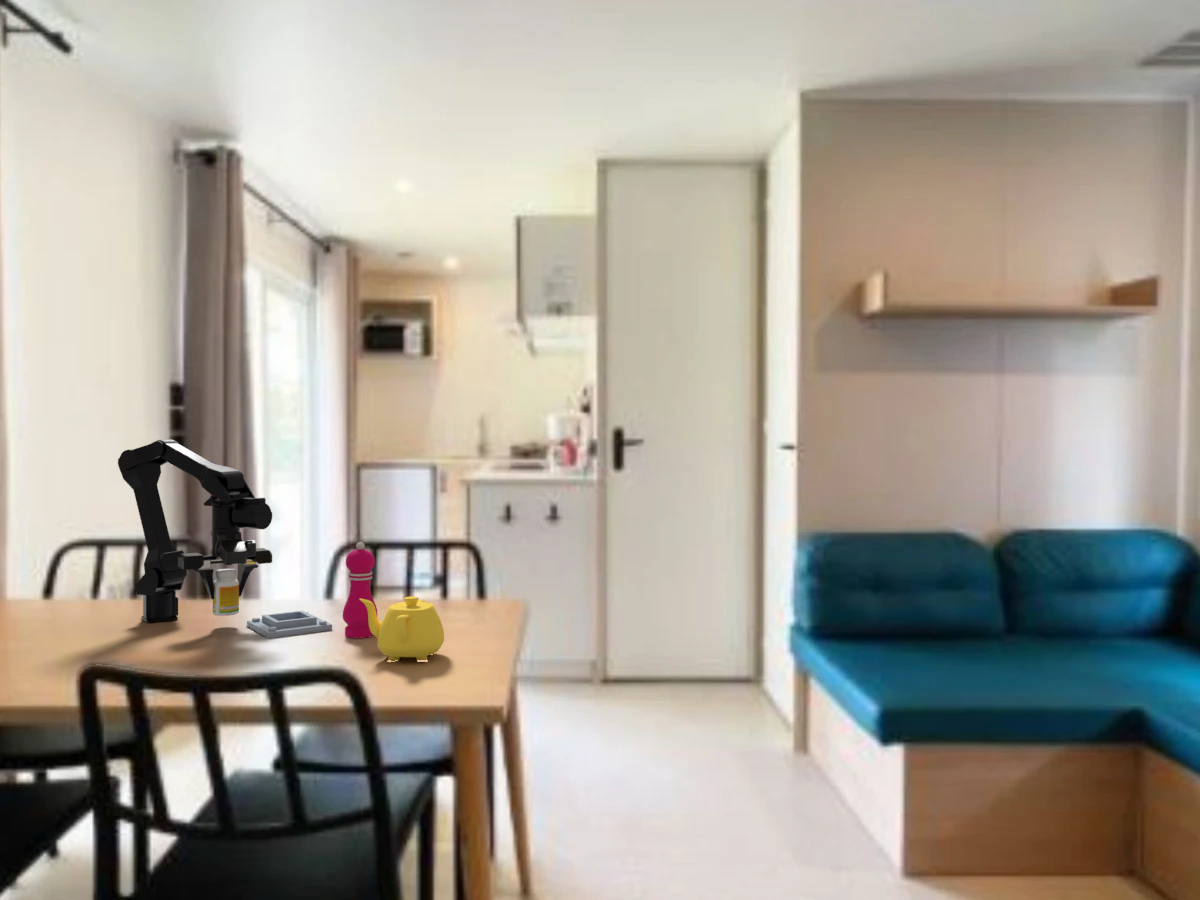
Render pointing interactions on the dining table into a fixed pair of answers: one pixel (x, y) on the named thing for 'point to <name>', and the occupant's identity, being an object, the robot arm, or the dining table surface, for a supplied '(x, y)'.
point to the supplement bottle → (226, 593)
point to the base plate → (288, 624)
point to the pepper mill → (358, 592)
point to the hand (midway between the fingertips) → (225, 597)
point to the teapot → (407, 629)
